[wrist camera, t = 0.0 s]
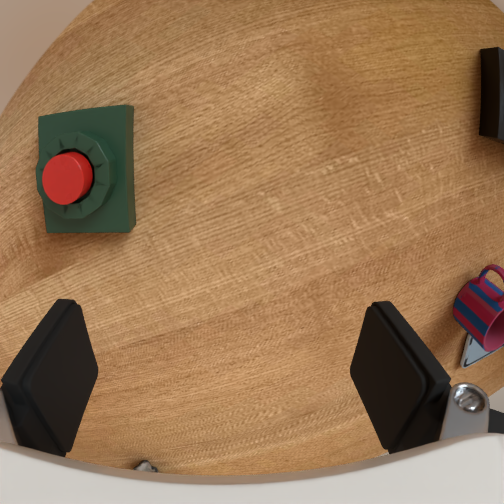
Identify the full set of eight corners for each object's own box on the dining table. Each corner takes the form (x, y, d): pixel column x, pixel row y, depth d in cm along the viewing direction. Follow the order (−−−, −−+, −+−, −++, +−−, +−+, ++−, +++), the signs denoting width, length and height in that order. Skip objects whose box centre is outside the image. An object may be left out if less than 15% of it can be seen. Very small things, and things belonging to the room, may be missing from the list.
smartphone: (522, 334, 37) (461, 370, 37) (519, 332, 38) (458, 367, 38) (533, 299, 34) (470, 333, 34) (529, 296, 35) (467, 330, 35)
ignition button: (51, 154, 19) (40, 157, 18) (92, 149, 20) (82, 152, 18) (55, 199, 21) (44, 206, 19) (94, 198, 21) (85, 204, 20)
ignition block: (50, 116, 21) (26, 117, 18) (134, 105, 22) (118, 103, 18) (57, 225, 25) (36, 240, 21) (136, 224, 26) (123, 240, 22)
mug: (448, 327, 34) (476, 359, 28) (462, 256, 30) (499, 283, 24) (482, 314, 34) (511, 342, 28) (497, 248, 30) (533, 271, 24)
